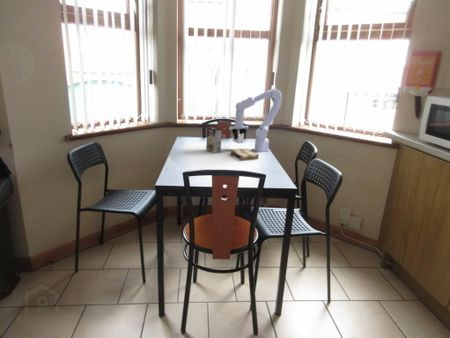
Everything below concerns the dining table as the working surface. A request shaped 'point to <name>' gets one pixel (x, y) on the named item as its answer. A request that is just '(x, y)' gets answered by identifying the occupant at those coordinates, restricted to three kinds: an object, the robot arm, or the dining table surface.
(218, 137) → the coffee box
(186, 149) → the dining table surface
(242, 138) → the block
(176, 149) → the dining table surface
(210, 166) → the dining table surface
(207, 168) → the dining table surface
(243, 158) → the stand
